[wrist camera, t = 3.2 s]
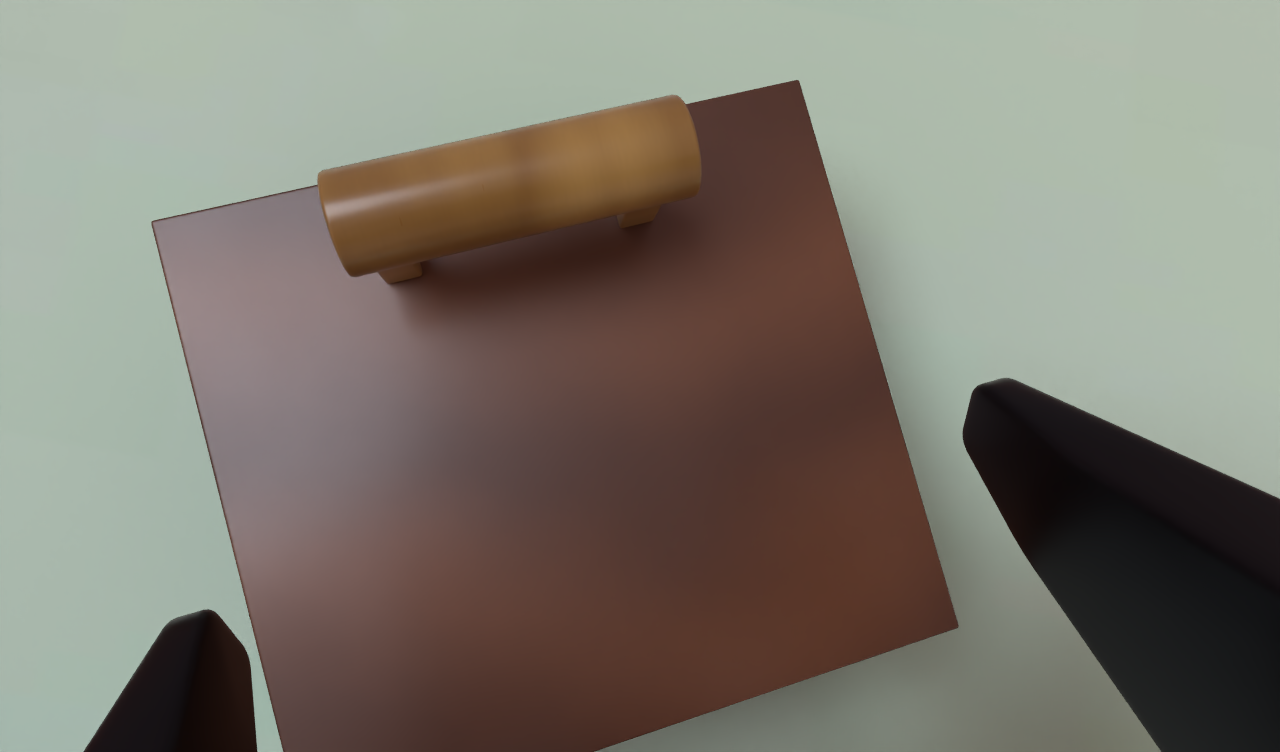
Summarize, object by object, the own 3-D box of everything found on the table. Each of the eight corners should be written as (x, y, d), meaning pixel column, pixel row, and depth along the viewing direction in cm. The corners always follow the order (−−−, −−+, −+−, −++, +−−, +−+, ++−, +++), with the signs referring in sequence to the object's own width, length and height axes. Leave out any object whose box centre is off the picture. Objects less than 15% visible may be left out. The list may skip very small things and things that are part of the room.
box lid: (166, 230, 15) (16, 141, 11) (788, 93, 17) (878, -31, 13) (317, 831, 15) (224, 998, 10) (942, 620, 17) (1093, 683, 12)
